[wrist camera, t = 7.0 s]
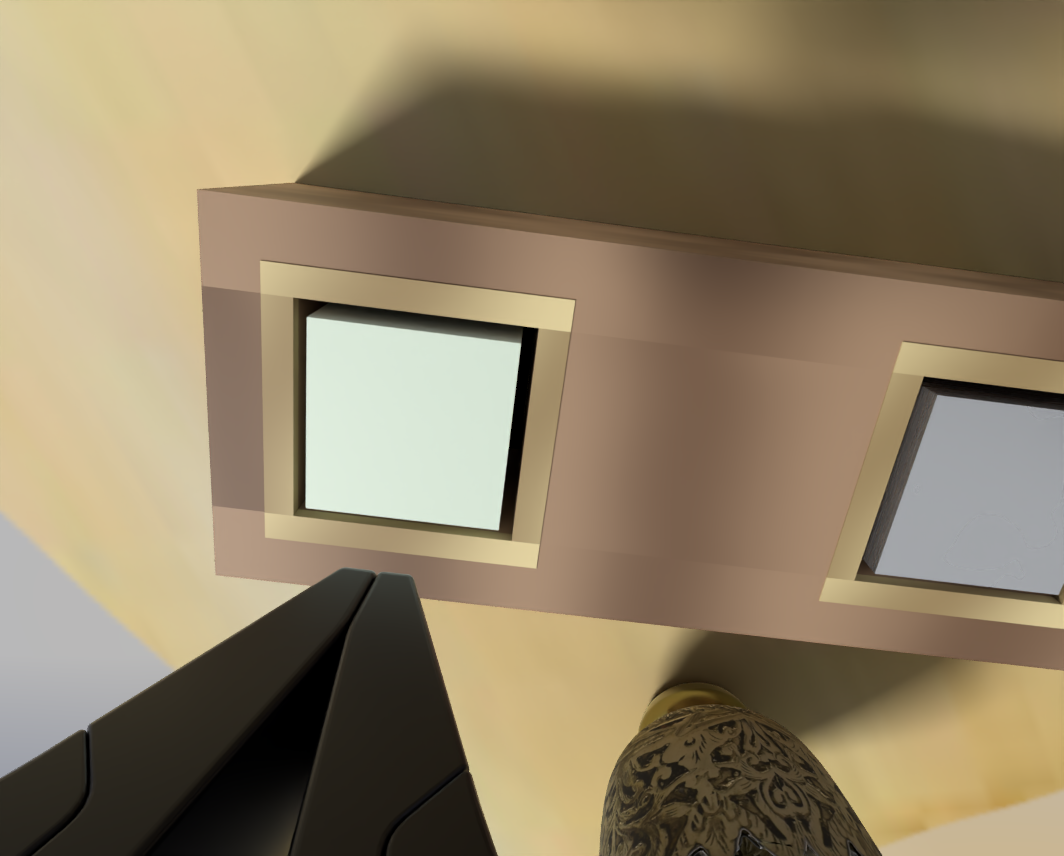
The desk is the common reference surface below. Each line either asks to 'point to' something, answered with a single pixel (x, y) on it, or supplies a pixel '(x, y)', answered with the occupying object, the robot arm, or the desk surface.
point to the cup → (723, 786)
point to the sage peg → (409, 414)
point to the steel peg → (976, 490)
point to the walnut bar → (626, 415)
